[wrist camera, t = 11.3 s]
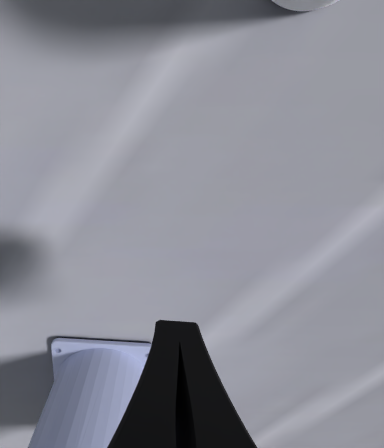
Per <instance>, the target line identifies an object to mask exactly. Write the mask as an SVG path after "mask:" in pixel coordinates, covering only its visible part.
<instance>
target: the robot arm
mask: <svg viewBox="0 0 384 448" xmlns="http://www.w3.org/2000/svg"><path fill="white" fill-rule="evenodd" d="M51 351H52V363H53V374H54V383H53V386H52V388H51V391H50V393H49V396H48V398H47V401H46V403H45V406H44V408H43V411H42V413H41V416H40V418H39V421H38V423H37V426H36V428H35V431H34V433H33V436H32V438H31V441H30V443H29V446H28V448H257V447H256V445H255V443H254V442H253V440H252V438H251V437H250V435H249V433H248V431H247V430H246V428H245V426H244V424H243V423H242V421H241V419H240V417H239V415H238V414H237V412H236V410H235V408H234V406H233V404H232V402H231V400H230V398H229V397H228V395H227V393H226V391H225V389H224V386H223V384H222V382H221V380H220V378H219V376H218V374H217V372H216V370H215V367H214V365H213V363H212V361H211V358H210V356H209V353H208V351H207V349H206V346H205V344H204V341H203V338H202V335H201V333H200V330H199V326H198V325H197V324H196V323H194V322H180V321H166V320H159V321H157V322H156V325H155V332H154V338H153V342H152V344H150V343H135V342H118V341H101V340H85V339H68V338H56V339H54V340H53V341H52V343H51ZM147 353H149V354H147Z"/></svg>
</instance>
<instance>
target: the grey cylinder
mask: <svg viewBox="0 0 384 448" xmlns="http://www.w3.org/2000/svg"><path fill="white" fill-rule="evenodd" d="M272 1H273V2H274V3H276V4H277V5H279V6H281V7H283V8H286V9H289V10H294V11H312V10H317V9H320V8H323V7H326V6H328V5H331V4H333V3H335V2H337V1H339V0H272Z"/></svg>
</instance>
